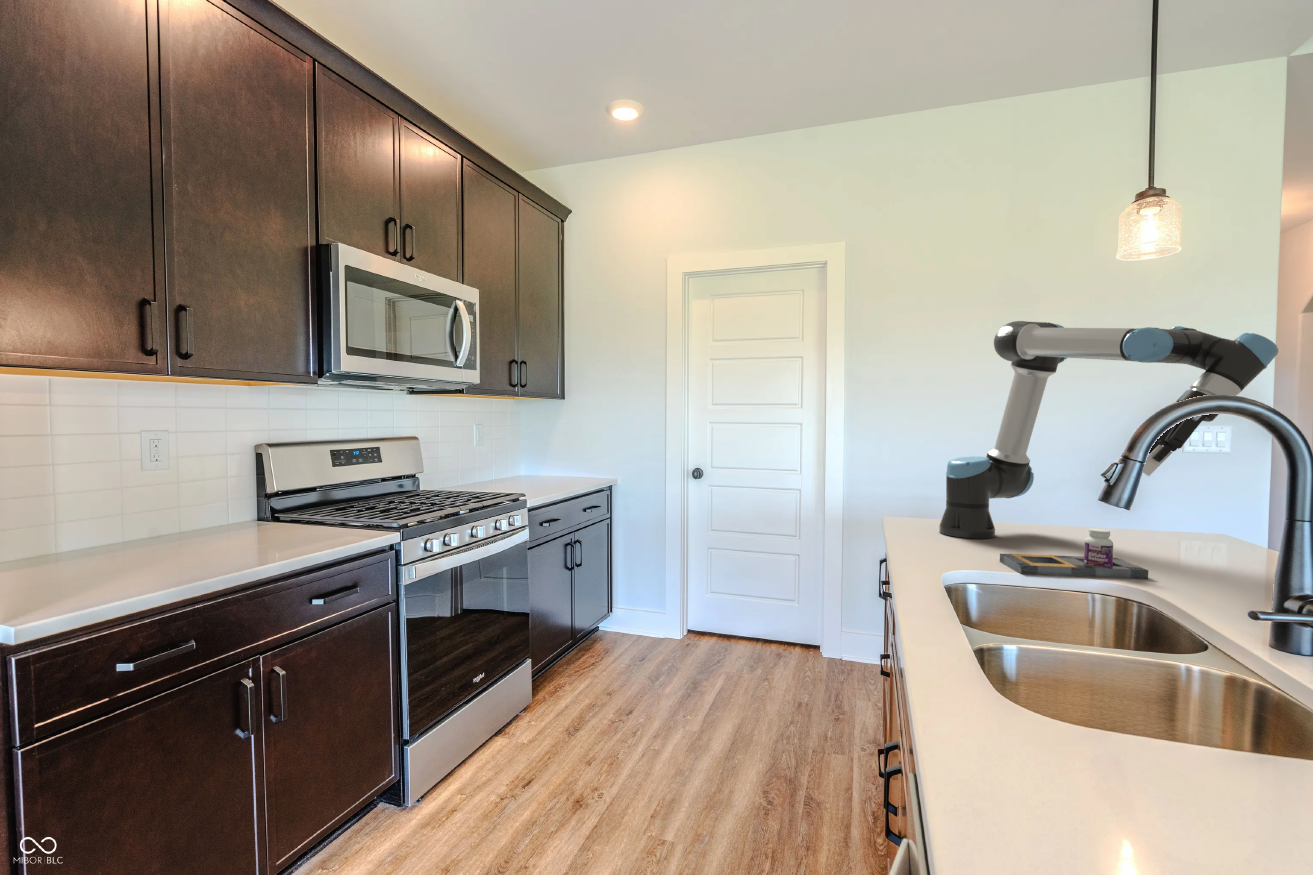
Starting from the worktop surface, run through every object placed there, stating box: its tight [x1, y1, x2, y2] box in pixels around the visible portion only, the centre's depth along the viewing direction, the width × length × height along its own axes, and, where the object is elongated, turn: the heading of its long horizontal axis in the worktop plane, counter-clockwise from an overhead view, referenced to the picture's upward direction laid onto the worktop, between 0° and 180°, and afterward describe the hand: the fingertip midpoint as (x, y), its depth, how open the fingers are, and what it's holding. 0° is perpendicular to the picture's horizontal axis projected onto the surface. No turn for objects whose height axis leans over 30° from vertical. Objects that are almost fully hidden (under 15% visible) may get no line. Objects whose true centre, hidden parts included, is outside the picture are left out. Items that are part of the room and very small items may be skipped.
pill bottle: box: [1083, 528, 1114, 566], centre depth 141 cm, size 5×5×10 cm
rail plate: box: [999, 553, 1149, 580], centre depth 142 cm, size 12×26×2 cm, turn 81°
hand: (1133, 472), depth 138 cm, fingers open, 13 cm apart
